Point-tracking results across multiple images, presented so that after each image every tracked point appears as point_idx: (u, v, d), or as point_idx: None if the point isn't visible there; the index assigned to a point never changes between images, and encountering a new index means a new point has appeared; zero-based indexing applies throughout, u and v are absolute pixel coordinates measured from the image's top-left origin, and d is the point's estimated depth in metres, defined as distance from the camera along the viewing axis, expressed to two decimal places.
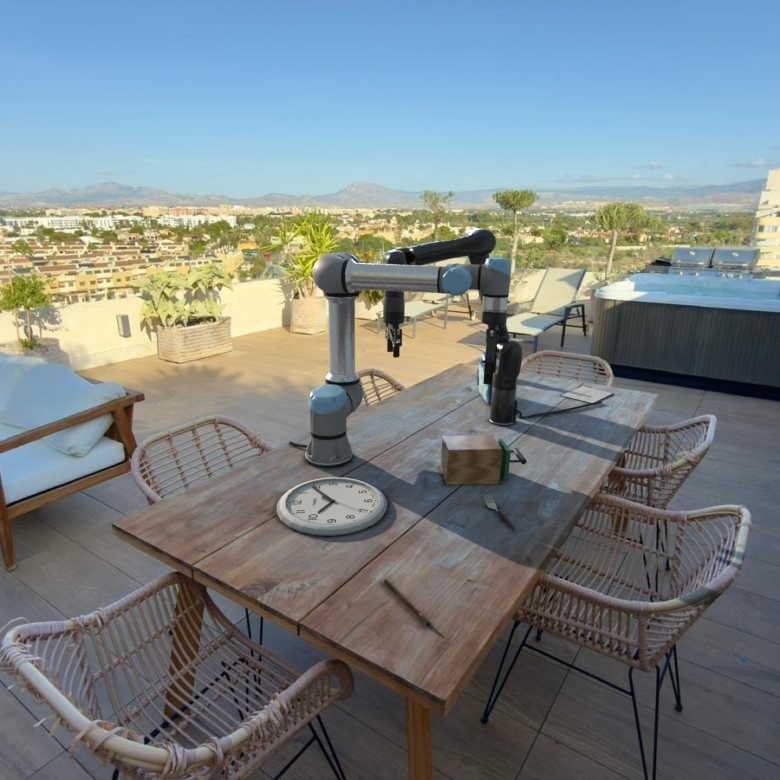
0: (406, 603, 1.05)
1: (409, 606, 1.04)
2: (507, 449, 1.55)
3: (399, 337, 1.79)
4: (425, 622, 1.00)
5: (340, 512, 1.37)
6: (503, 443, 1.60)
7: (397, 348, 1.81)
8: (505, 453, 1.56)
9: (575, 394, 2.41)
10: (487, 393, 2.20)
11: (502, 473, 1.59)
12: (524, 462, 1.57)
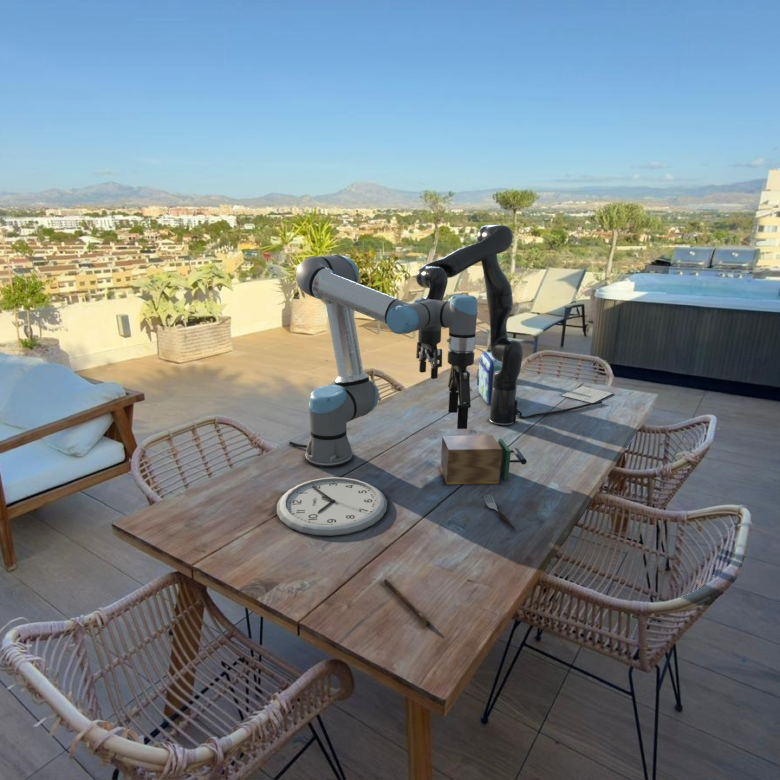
0: (406, 603, 1.05)
1: (409, 606, 1.04)
2: (507, 449, 1.55)
3: (439, 358, 1.69)
4: (425, 622, 1.00)
5: (340, 512, 1.37)
6: (503, 443, 1.60)
7: (436, 369, 1.72)
8: (505, 453, 1.56)
9: (575, 394, 2.41)
10: (487, 393, 2.20)
11: (502, 473, 1.59)
12: (524, 462, 1.57)
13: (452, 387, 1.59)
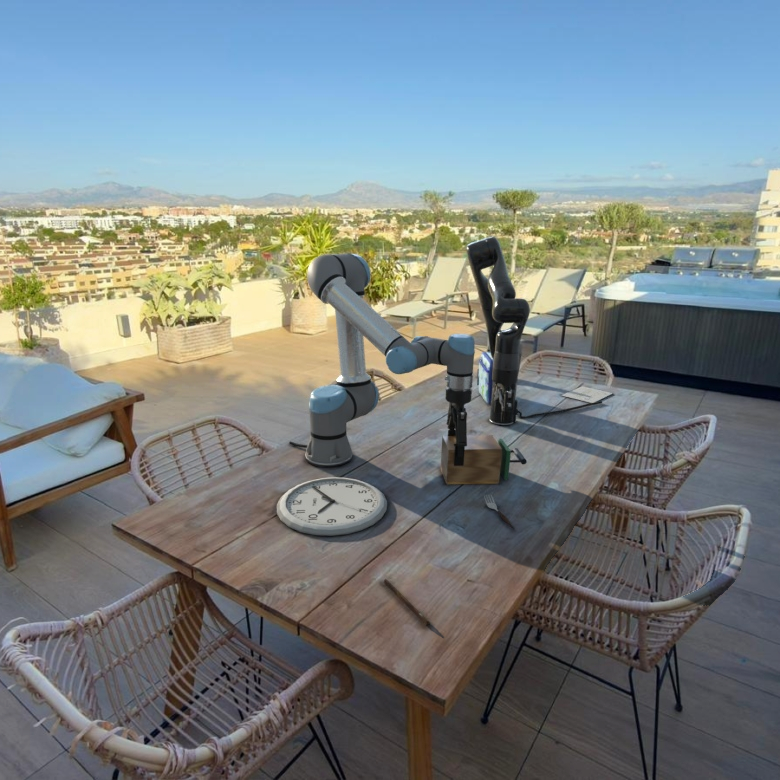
0: (406, 603, 1.05)
1: (409, 606, 1.04)
2: (507, 449, 1.55)
3: None
4: (425, 622, 1.00)
5: (340, 512, 1.37)
6: (503, 443, 1.60)
7: None
8: (505, 453, 1.56)
9: (575, 394, 2.41)
10: (487, 393, 2.20)
11: (502, 473, 1.59)
12: (524, 462, 1.57)
13: (450, 424, 1.61)
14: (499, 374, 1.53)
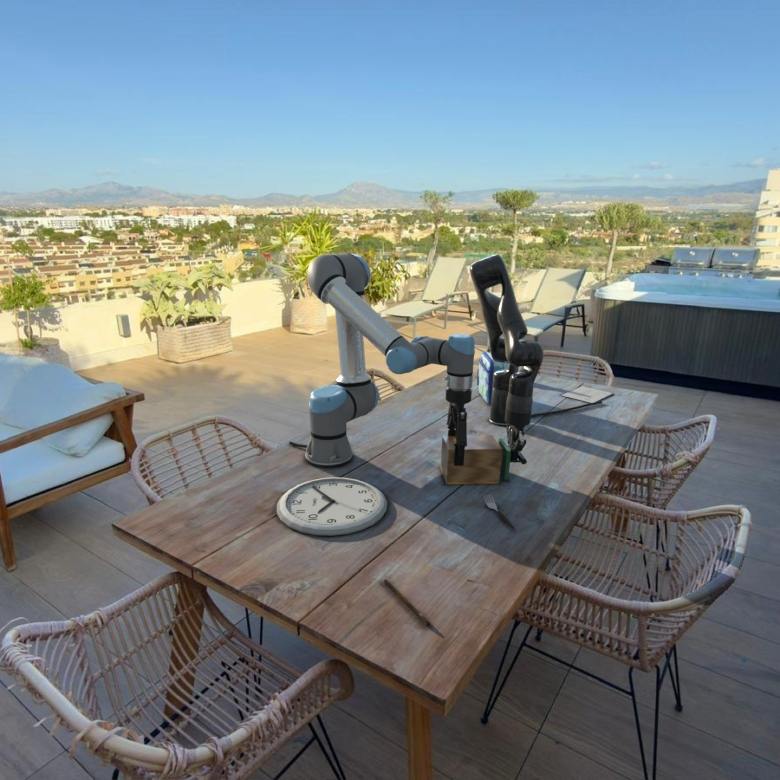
0: (406, 603, 1.05)
1: (409, 606, 1.04)
2: (507, 449, 1.55)
3: None
4: (425, 622, 1.00)
5: (340, 512, 1.37)
6: (503, 443, 1.60)
7: None
8: (505, 453, 1.56)
9: (575, 394, 2.41)
10: (487, 393, 2.20)
11: (502, 473, 1.59)
12: (524, 462, 1.57)
13: (451, 424, 1.61)
14: (512, 417, 1.53)
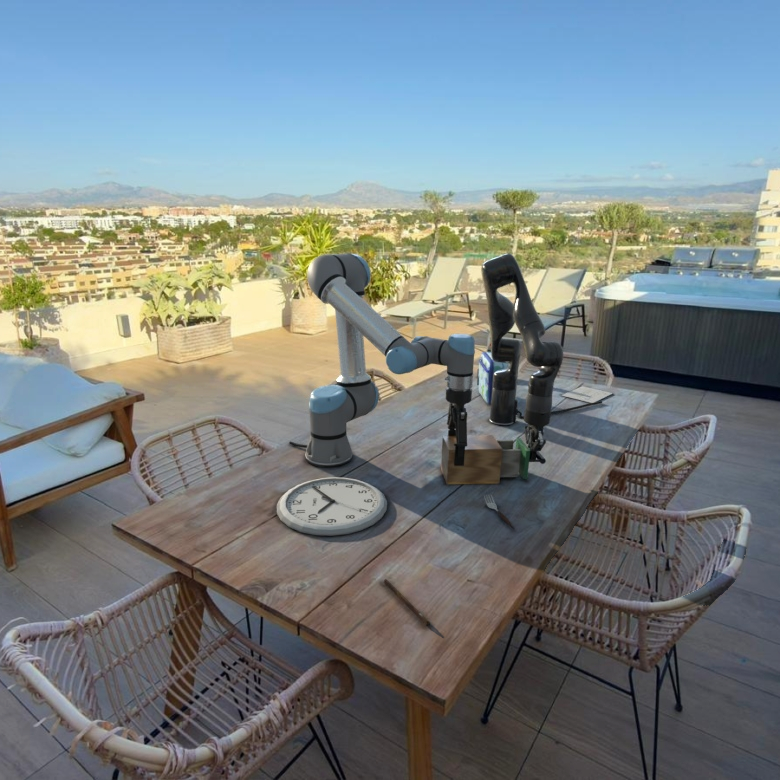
0: (406, 603, 1.05)
1: (409, 606, 1.04)
2: (526, 449, 1.56)
3: None
4: (425, 622, 1.00)
5: (340, 512, 1.37)
6: (522, 442, 1.60)
7: None
8: (524, 453, 1.56)
9: (575, 394, 2.41)
10: (487, 393, 2.20)
11: (521, 473, 1.59)
12: (543, 462, 1.57)
13: (451, 424, 1.61)
14: (532, 417, 1.54)
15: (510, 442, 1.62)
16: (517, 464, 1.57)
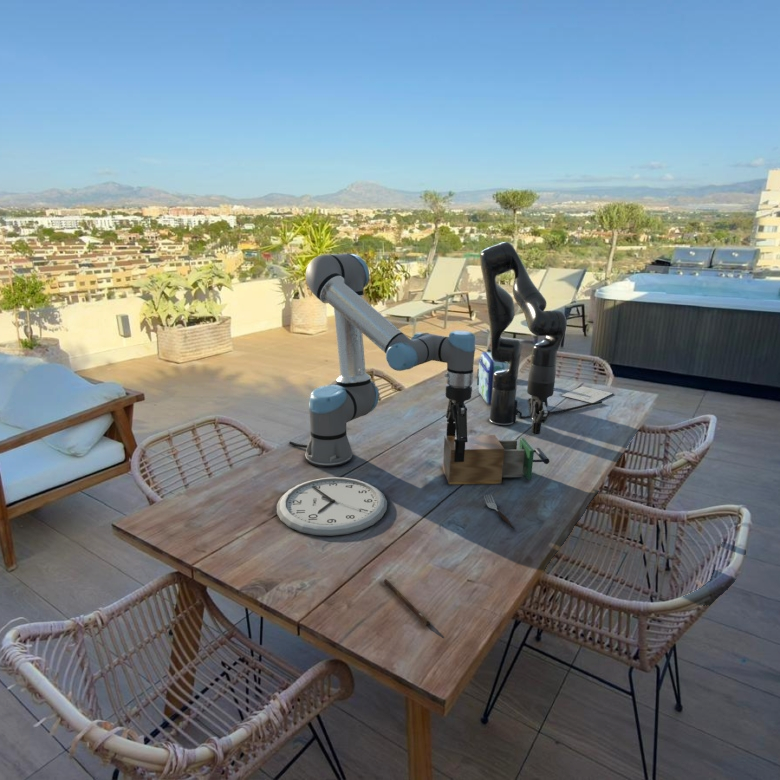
0: (406, 603, 1.05)
1: (409, 606, 1.04)
2: (530, 449, 1.56)
3: None
4: (425, 622, 1.00)
5: (340, 512, 1.37)
6: (525, 443, 1.60)
7: None
8: (528, 453, 1.56)
9: (575, 394, 2.41)
10: (487, 393, 2.20)
11: (525, 473, 1.60)
12: (547, 462, 1.57)
13: (450, 418, 1.62)
14: (535, 387, 1.51)
15: (513, 442, 1.62)
16: (521, 464, 1.57)
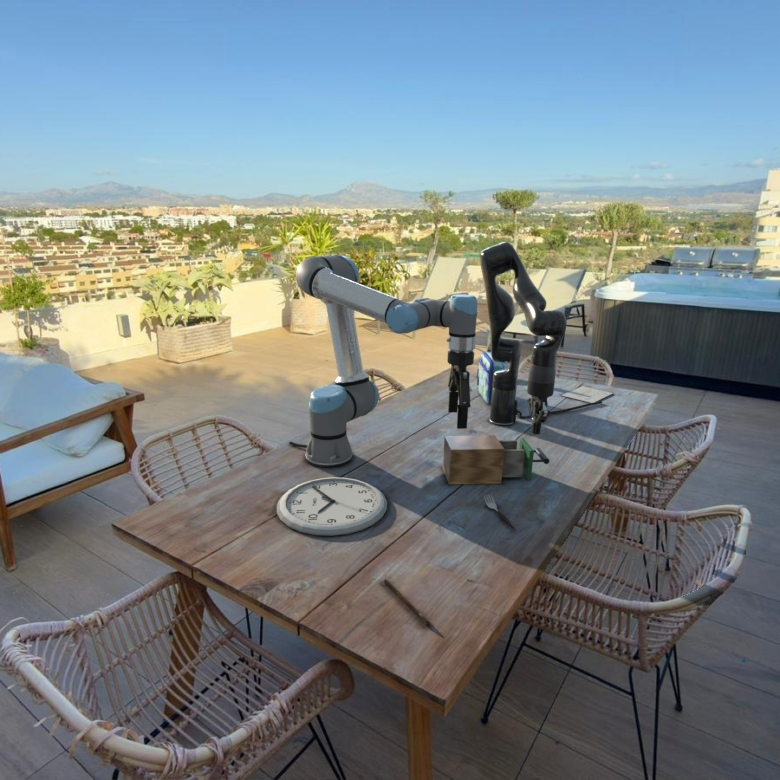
0: (406, 603, 1.05)
1: (409, 606, 1.04)
2: (530, 449, 1.56)
3: None
4: (425, 622, 1.00)
5: (340, 512, 1.37)
6: (525, 443, 1.60)
7: None
8: (528, 453, 1.56)
9: (575, 394, 2.41)
10: (487, 393, 2.20)
11: (525, 473, 1.60)
12: (547, 462, 1.57)
13: (452, 387, 1.58)
14: (535, 387, 1.51)
15: (513, 442, 1.62)
16: (521, 464, 1.57)
